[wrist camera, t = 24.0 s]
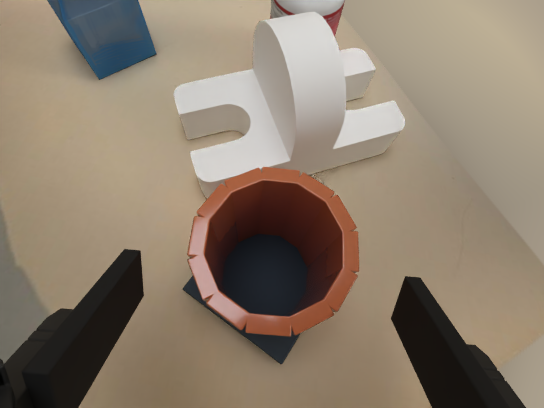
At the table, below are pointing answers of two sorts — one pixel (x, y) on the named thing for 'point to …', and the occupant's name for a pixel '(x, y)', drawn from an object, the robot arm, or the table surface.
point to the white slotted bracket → (287, 106)
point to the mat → (263, 285)
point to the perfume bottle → (106, 32)
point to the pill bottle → (309, 9)
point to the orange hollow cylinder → (282, 222)
